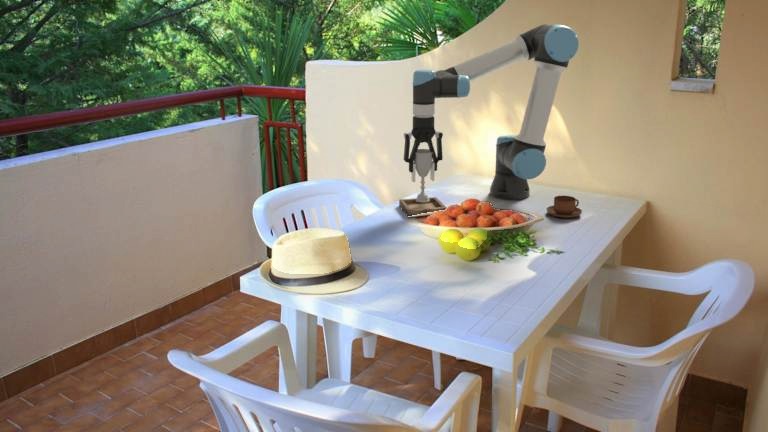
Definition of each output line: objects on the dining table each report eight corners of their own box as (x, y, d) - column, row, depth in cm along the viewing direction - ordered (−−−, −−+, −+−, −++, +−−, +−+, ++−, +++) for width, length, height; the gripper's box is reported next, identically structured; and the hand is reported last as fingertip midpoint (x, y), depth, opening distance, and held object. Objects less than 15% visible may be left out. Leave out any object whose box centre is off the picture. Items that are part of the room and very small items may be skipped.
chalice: (433, 197, 251) (433, 149, 245) (432, 203, 244) (433, 153, 239) (413, 197, 251) (413, 148, 246) (411, 202, 245) (412, 153, 239)
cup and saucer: (558, 208, 251) (559, 191, 249) (587, 215, 243) (589, 198, 241) (539, 215, 243) (540, 198, 241) (569, 222, 235) (571, 205, 233)
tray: (435, 203, 257) (436, 197, 256) (446, 214, 244) (447, 207, 243) (399, 206, 254) (399, 199, 253) (408, 217, 241) (408, 210, 240)
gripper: (447, 112, 244) (445, 176, 251) (394, 115, 240) (394, 179, 247) (453, 116, 237) (451, 181, 244) (398, 118, 233) (398, 184, 240)
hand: (422, 180), depth 245 cm, fingers closed on chalice, 6 cm apart
